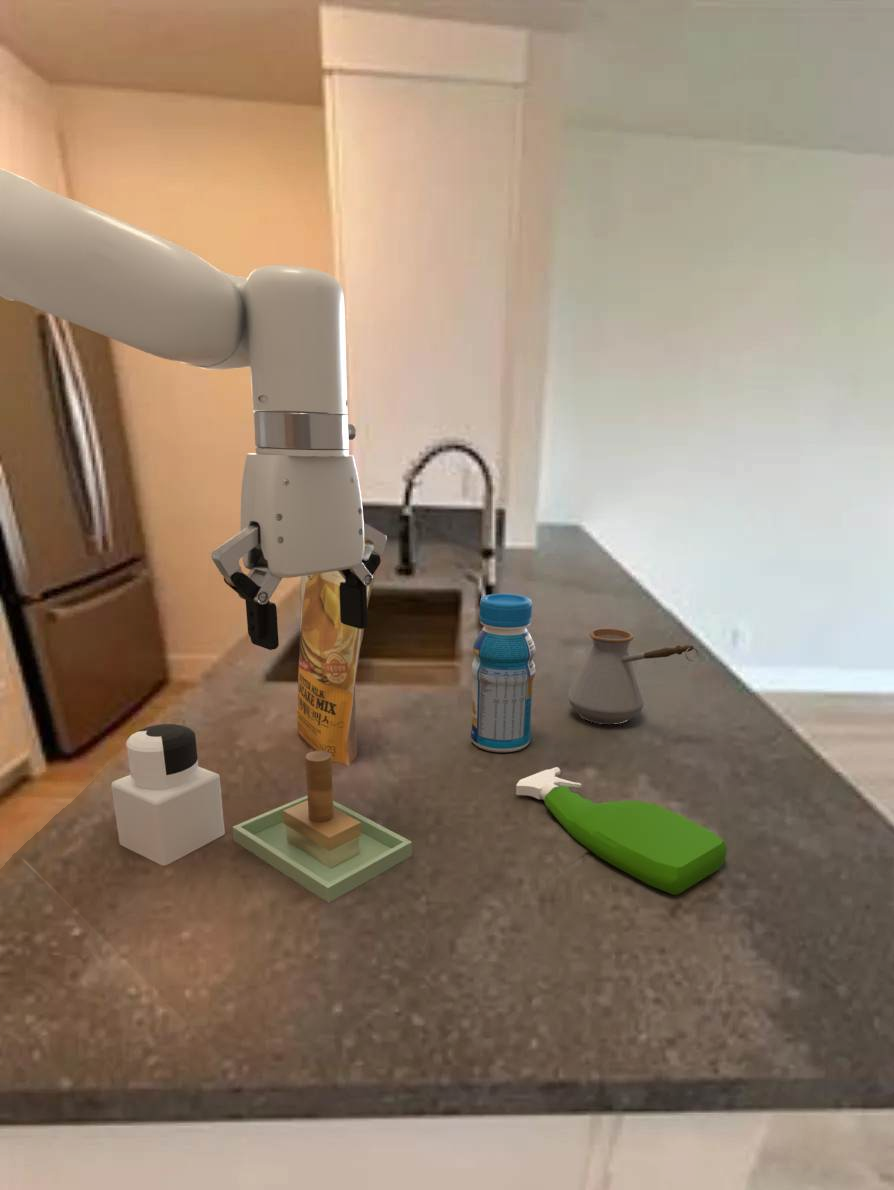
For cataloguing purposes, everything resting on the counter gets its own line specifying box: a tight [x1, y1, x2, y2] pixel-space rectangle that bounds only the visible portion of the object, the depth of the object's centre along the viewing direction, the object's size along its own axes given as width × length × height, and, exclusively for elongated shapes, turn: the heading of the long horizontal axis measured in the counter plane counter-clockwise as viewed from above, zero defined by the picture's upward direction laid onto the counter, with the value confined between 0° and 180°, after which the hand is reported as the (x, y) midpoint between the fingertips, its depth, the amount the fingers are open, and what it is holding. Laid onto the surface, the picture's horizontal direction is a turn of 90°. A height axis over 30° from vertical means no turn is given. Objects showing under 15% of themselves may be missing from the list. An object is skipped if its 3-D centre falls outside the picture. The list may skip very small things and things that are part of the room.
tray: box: [232, 795, 413, 904], centre depth 72 cm, size 15×10×2 cm
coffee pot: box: [567, 628, 699, 724], centre depth 103 cm, size 21×12×15 cm, turn 34°
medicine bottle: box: [111, 723, 226, 867], centre depth 71 cm, size 7×7×12 cm
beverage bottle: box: [470, 593, 536, 753], centre depth 96 cm, size 8×8×20 cm
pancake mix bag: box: [296, 541, 377, 767], centre depth 92 cm, size 7×19×28 cm, turn 33°
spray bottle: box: [515, 766, 728, 896], centre depth 78 cm, size 3×11×24 cm
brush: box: [283, 750, 361, 868], centre depth 71 cm, size 7×4×10 cm, turn 51°
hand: (311, 635), depth 65 cm, fingers open, 9 cm apart
